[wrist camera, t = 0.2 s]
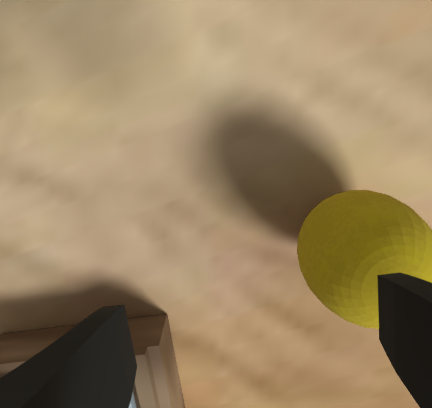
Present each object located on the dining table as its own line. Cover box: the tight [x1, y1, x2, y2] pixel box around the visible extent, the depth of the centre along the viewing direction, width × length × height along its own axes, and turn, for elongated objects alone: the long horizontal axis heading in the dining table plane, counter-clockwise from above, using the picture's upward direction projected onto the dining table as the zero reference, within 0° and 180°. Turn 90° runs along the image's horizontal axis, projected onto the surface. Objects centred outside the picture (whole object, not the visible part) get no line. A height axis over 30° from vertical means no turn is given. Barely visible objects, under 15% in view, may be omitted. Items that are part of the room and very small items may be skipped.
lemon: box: [297, 190, 432, 329], centre depth 16 cm, size 6×6×8 cm
